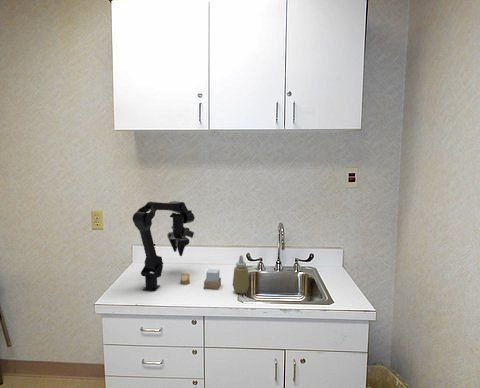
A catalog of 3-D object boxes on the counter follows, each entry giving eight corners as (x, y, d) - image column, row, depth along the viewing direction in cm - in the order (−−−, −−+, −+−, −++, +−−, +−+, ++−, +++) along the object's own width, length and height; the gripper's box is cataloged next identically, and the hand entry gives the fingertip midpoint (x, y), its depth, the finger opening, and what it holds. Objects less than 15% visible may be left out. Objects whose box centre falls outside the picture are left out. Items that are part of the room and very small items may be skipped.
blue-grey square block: (217, 281, 179) (217, 273, 178) (206, 281, 179) (206, 272, 179) (219, 278, 184) (219, 269, 183) (208, 277, 185) (208, 268, 184)
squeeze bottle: (236, 296, 171) (236, 259, 168) (230, 290, 178) (230, 254, 176) (251, 293, 174) (252, 257, 171) (245, 287, 181) (245, 252, 179)
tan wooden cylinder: (188, 285, 184) (188, 276, 183) (179, 284, 185) (179, 276, 184) (190, 281, 188) (190, 273, 188) (182, 281, 189) (182, 272, 189)
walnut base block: (217, 290, 178) (217, 282, 178) (204, 289, 179) (204, 281, 179) (220, 285, 185) (220, 277, 185) (207, 284, 186) (207, 276, 186)
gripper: (198, 227, 188) (198, 256, 190) (186, 221, 204) (186, 248, 206) (178, 228, 183) (178, 259, 184) (167, 222, 199) (167, 250, 201)
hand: (178, 253), depth 194 cm, fingers open, 9 cm apart
